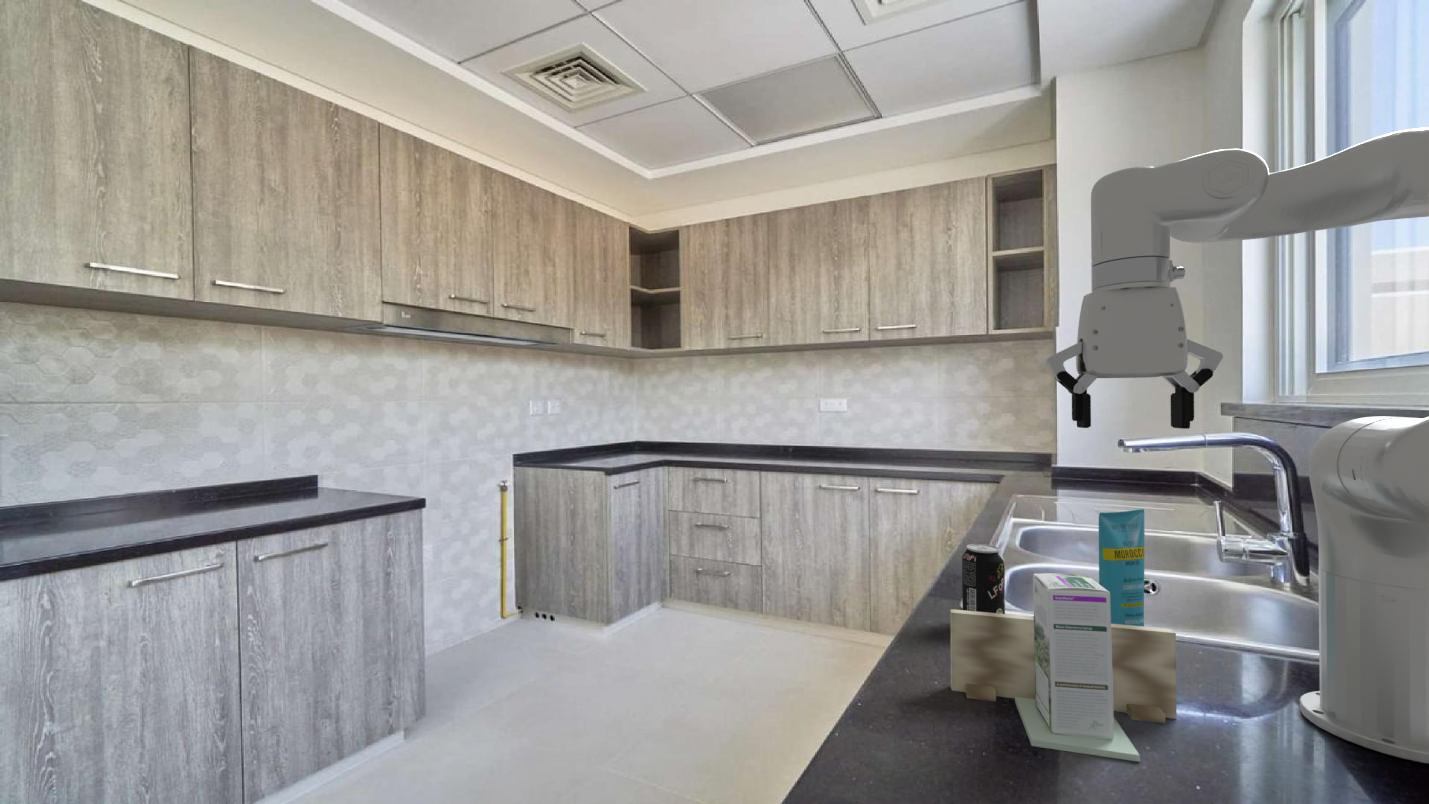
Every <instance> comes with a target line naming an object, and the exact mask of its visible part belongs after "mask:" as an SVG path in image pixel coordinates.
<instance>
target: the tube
mask: <svg viewBox="0 0 1429 804" xmlns="http://www.w3.org/2000/svg"><path fill="white" fill-rule="evenodd" d="M1145 536H1146V535H1145V508H1136V509H1131V510H1130V509H1129V510H1124V511H1123V510H1122V511H1105V512H1103V511H1100V512H1099V513H1098V584H1099V585H1101V586H1102V587H1104V588H1105V589H1106V590H1108V591H1109V592H1110V610H1111V624H1121V625H1132V626H1143V627H1145V559H1146V558H1145V553H1146V552H1145V551H1146V548H1145V545H1146V544H1145V541H1146V540H1145V539H1146V538H1145Z"/></svg>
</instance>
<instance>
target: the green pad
mask: <svg viewBox="0 0 1429 804" xmlns="http://www.w3.org/2000/svg"><path fill="white" fill-rule="evenodd" d="M1014 702H1015V706H1016V708H1017V711H1018V714H1019V716H1020V719H1021V721H1022V724H1023V727H1024V729H1025V733H1026V735H1027V737H1028V740H1029V742H1030V745H1031V747H1037V748H1044V749H1051V750H1057V751H1064V752H1071V753H1077V754H1085V755H1092V756H1099V757H1103V758H1104V757H1105V758H1111V759H1117V760H1124V761H1125V760H1126V761H1131V762H1137V763H1141V756H1140V754H1139V752H1138V750H1137V749H1136V748H1135V746H1134V745H1133V743H1132V741H1131V740H1130V738H1129V737H1128V735H1127V734H1126V733H1125V731H1124V730H1123V728H1122V727H1121V725H1120V724H1119V722H1118V721H1117V720H1116V718H1115V717H1114V715H1113V728H1114V738H1113V740H1110V739H1098V738H1087V737H1078V736H1069V735H1063V734H1056V733H1053V732H1051V730H1050V729H1049V727H1048V725H1047V724H1046V722H1045V720H1044V719H1043V717H1042V715H1041V714H1040V712H1039V710H1038V709H1037V707H1036V699H1030V698H1022V697H1015V698H1014Z"/></svg>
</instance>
